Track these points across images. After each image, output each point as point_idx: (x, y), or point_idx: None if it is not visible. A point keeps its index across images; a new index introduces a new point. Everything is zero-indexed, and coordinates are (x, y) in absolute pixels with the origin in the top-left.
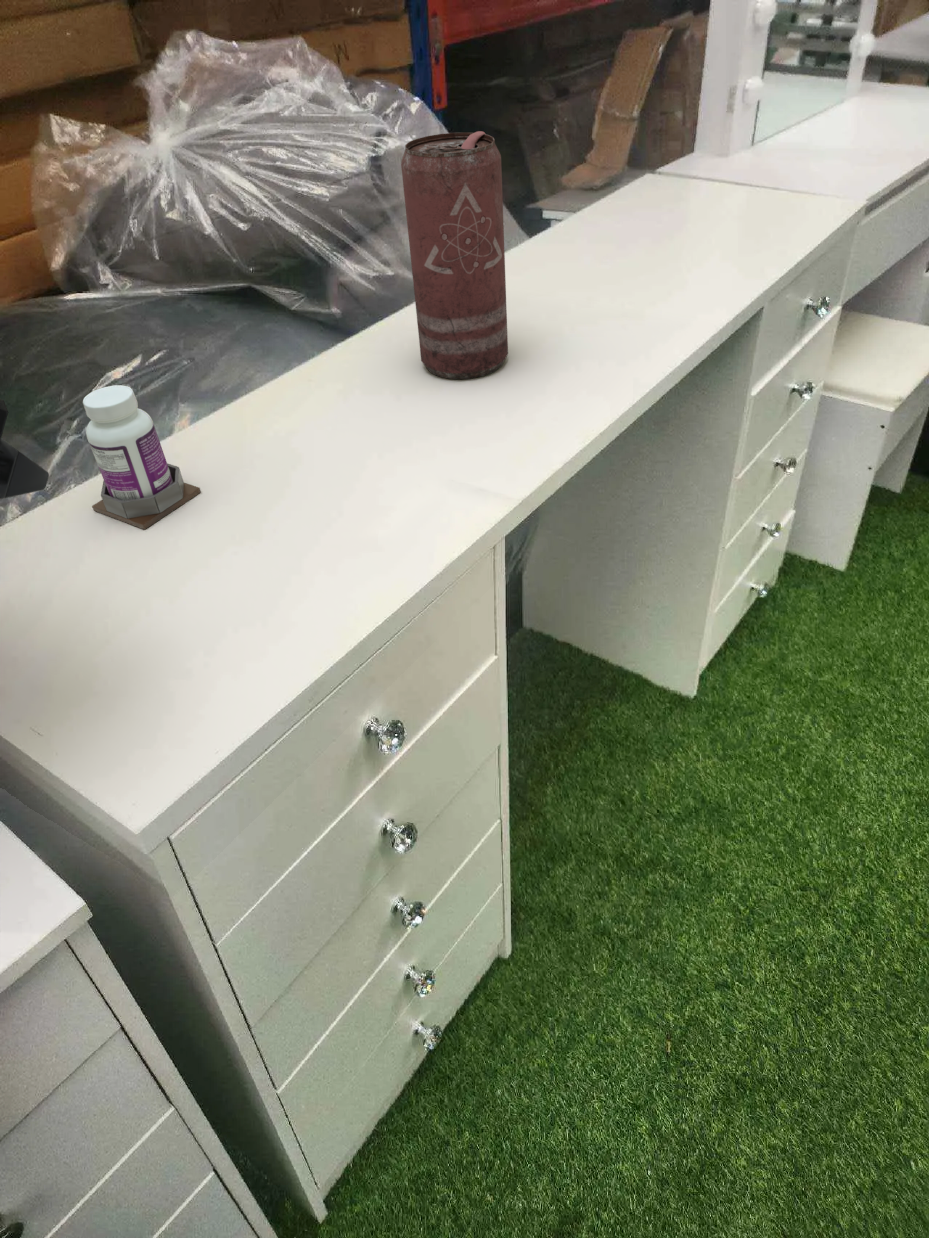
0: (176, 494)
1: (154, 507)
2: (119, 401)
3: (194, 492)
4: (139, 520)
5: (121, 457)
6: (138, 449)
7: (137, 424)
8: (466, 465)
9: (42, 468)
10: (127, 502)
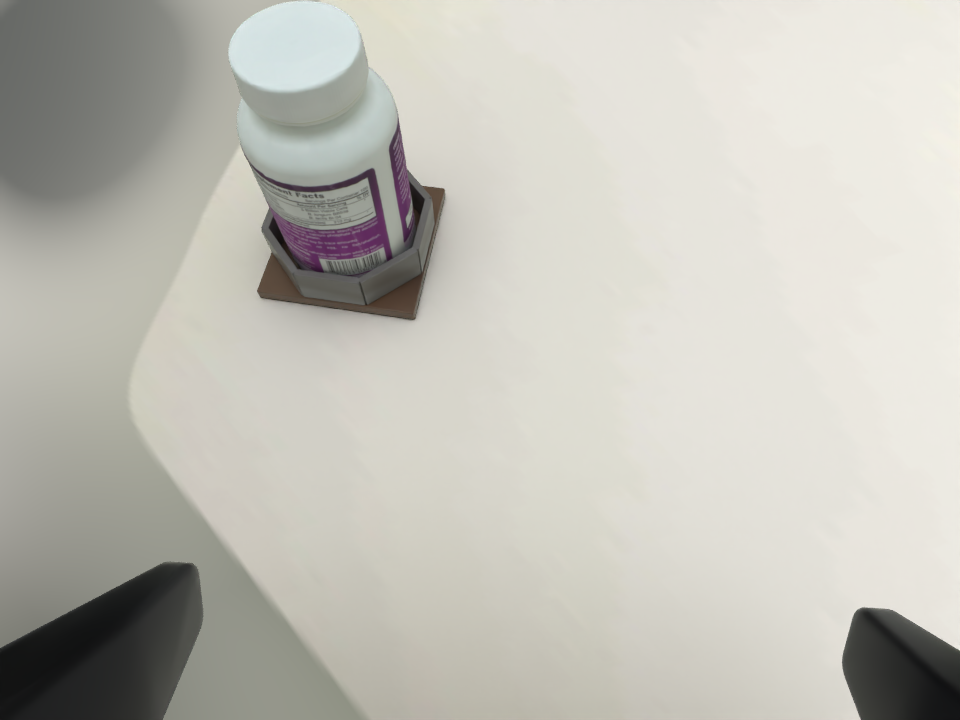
0: (430, 222)
1: (415, 267)
2: (350, 55)
3: (441, 202)
4: (395, 303)
5: (363, 195)
6: (391, 164)
7: (382, 104)
8: (847, 32)
9: (937, 638)
10: (370, 278)
